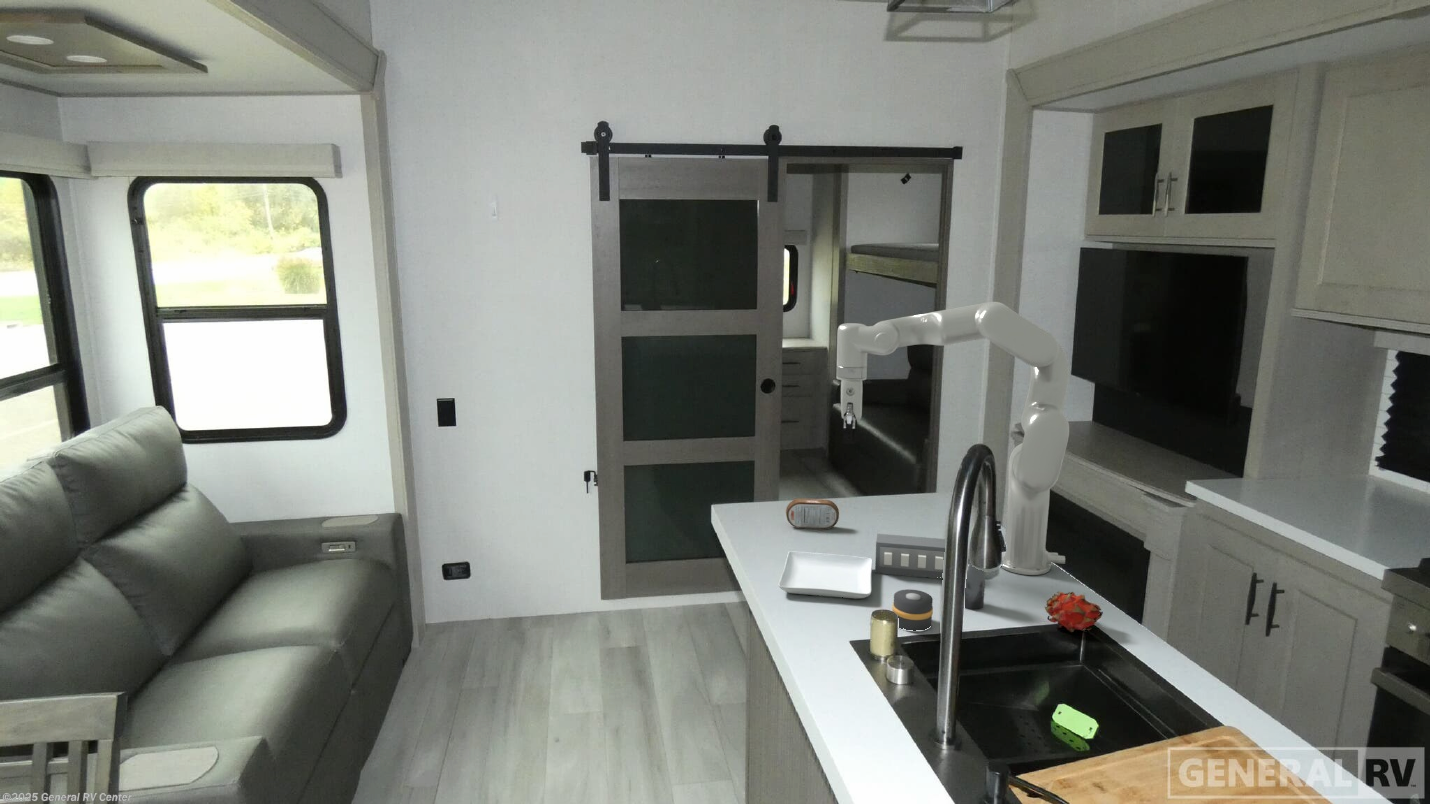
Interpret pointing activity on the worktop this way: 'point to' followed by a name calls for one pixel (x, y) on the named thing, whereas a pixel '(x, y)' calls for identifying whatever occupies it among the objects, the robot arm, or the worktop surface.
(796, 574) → the salad plate
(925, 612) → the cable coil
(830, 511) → the tin
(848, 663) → the worktop surface
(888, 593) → the worktop surface
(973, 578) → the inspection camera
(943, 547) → the breaker panel
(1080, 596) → the dragon fruit
